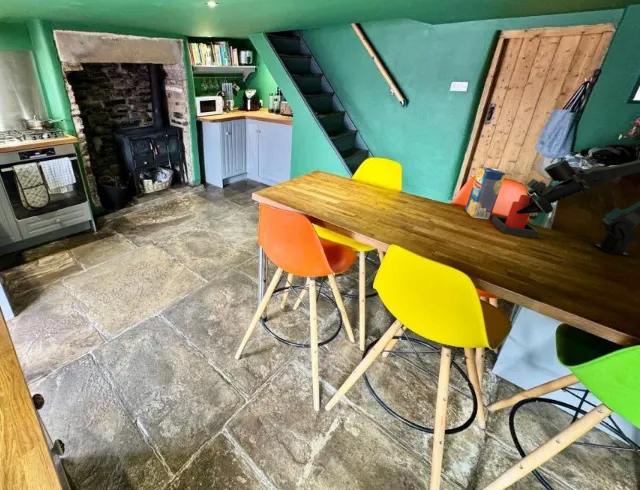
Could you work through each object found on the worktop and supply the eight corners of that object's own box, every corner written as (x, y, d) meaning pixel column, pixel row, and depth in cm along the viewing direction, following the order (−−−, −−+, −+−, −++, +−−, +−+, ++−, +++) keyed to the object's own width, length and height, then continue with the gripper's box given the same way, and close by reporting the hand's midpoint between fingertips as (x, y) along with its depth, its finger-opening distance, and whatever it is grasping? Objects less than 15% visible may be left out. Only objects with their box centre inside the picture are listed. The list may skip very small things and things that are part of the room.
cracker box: (480, 212, 149) (495, 168, 141) (489, 219, 139) (505, 173, 131) (465, 209, 151) (478, 166, 143) (472, 217, 141) (487, 171, 133)
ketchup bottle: (528, 229, 125) (540, 198, 120) (511, 228, 125) (523, 197, 121) (516, 223, 131) (528, 194, 126) (501, 222, 131) (512, 193, 127)
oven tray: (535, 238, 121) (538, 231, 120) (503, 233, 125) (505, 226, 124) (520, 226, 133) (523, 220, 132) (491, 222, 136) (493, 215, 135)
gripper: (542, 170, 126) (500, 190, 135) (553, 178, 111) (506, 200, 120) (560, 191, 124) (517, 210, 134) (573, 203, 110) (524, 223, 119)
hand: (515, 210), depth 127 cm, fingers closed on ketchup bottle, 6 cm apart
